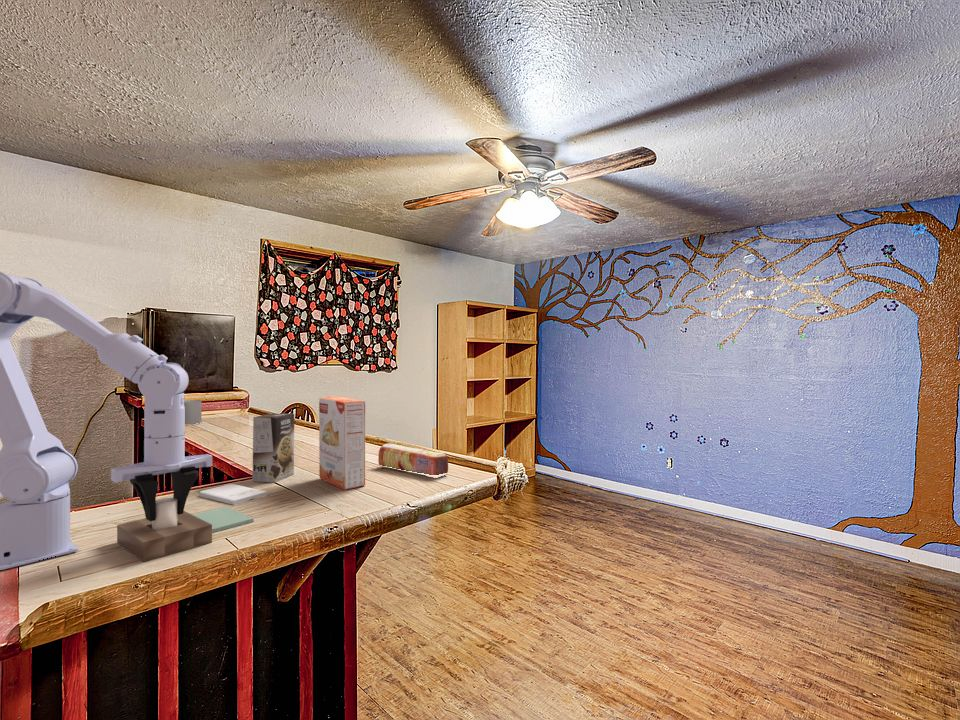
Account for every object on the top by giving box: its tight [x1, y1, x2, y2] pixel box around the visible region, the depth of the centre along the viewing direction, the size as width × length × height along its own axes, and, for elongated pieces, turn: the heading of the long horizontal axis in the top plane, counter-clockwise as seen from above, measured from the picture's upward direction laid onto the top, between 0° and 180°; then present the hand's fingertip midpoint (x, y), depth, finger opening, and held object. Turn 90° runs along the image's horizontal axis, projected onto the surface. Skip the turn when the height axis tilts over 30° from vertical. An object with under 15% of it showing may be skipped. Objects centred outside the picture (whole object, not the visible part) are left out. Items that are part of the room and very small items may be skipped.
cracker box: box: [318, 395, 366, 491], centre depth 121 cm, size 14×6×21 cm, turn 42°
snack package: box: [377, 442, 449, 475], centre depth 133 cm, size 21×7×7 cm, turn 55°
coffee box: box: [251, 413, 295, 484], centre depth 125 cm, size 9×6×16 cm
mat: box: [192, 506, 255, 534], centre depth 93 cm, size 9×11×1 cm
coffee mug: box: [184, 399, 202, 425], centre depth 214 cm, size 13×10×10 cm
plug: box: [152, 497, 177, 531], centre depth 82 cm, size 4×4×7 cm
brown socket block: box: [116, 510, 213, 563], centre depth 82 cm, size 10×12×3 cm
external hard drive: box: [198, 483, 268, 506], centre depth 109 cm, size 2×8×12 cm
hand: (164, 516), depth 82 cm, fingers closed on plug, 4 cm apart
